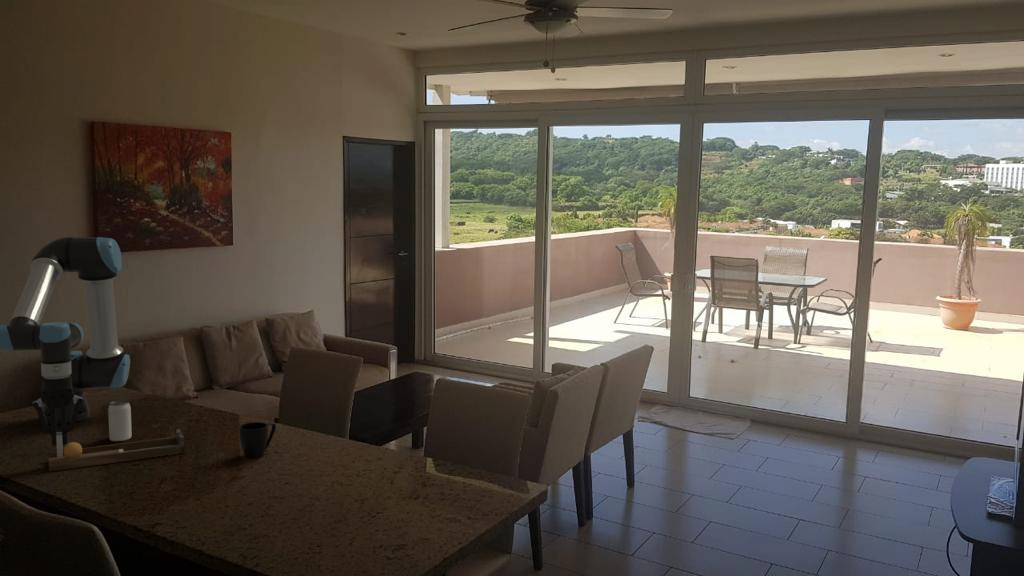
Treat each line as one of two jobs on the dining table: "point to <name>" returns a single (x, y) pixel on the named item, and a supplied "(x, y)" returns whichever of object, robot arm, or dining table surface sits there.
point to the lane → (120, 452)
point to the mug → (255, 438)
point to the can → (119, 421)
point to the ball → (72, 450)
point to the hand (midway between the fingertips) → (60, 455)
